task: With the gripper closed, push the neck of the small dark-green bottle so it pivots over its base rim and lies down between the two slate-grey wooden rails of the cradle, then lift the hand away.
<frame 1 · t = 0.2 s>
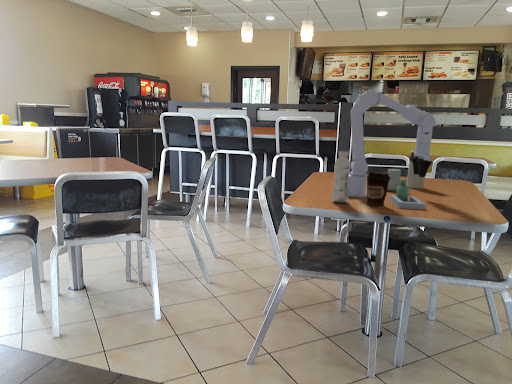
hand: (419, 175, 168), 10 cm above the table, tool pointing down, fingers open, 7 cm apart
cradle: (405, 204, 156), on the table
coffee cup: (375, 206, 152), on the table
plastic bottle: (339, 202, 156), on the table
bottle: (401, 200, 163), on the table, tilted 7°, touching cradle
travel mug: (414, 188, 199), on the table
air freshener: (392, 191, 187), on the table
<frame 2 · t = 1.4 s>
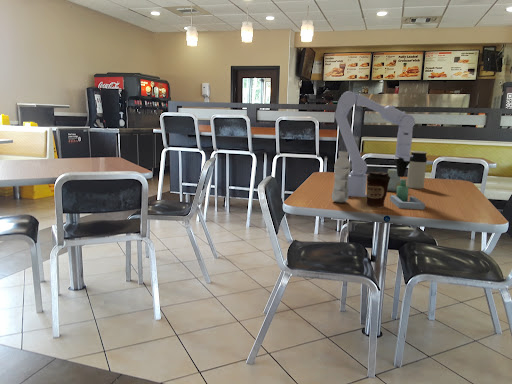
hand: (400, 176, 167), 9 cm above the table, tool pointing down, fingers closed
nothing on the table moved.
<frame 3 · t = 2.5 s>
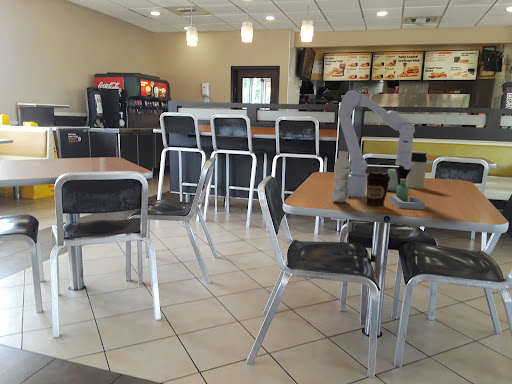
hand: (400, 184, 165), 6 cm above the table, tool pointing down, fingers closed
bottle: (401, 200, 163), on the table, tilted 7°, touching cradle, gripper
everything else where it was.
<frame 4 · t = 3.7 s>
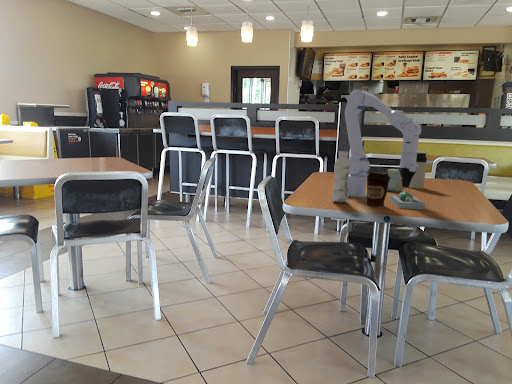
hand: (405, 187, 159), 6 cm above the table, tool pointing down, fingers closed
bottle: (403, 196, 160), point 2 cm above the table, tilted 90°, touching cradle
everything else where it was.
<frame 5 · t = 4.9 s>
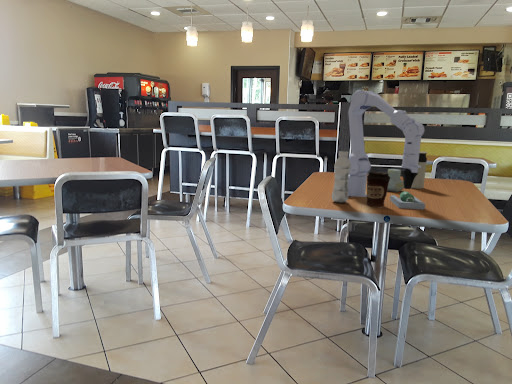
hand: (407, 188, 156), 6 cm above the table, tool pointing down, fingers closed
nothing on the table moved.
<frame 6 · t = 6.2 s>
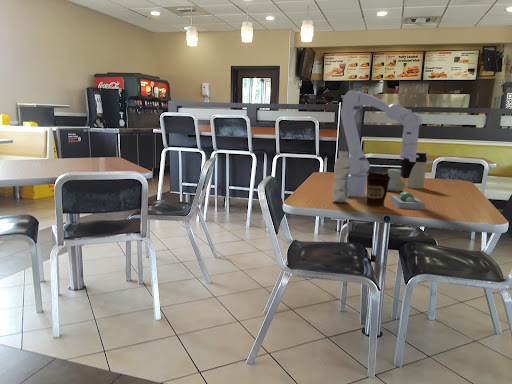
hand: (405, 178, 159), 10 cm above the table, tool pointing down, fingers closed
nothing on the table moved.
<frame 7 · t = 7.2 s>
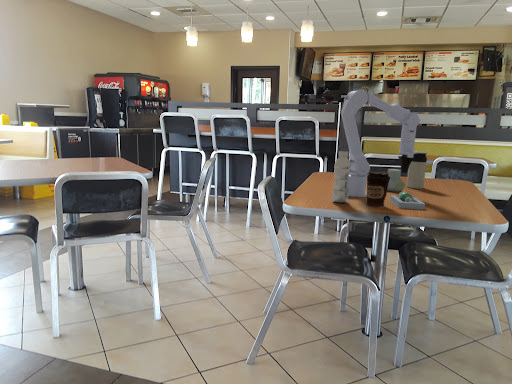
hand: (404, 172, 172), 10 cm above the table, tool pointing down, fingers closed
nothing on the table moved.
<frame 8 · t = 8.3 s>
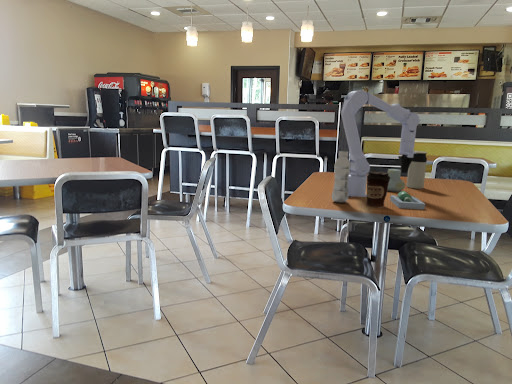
hand: (404, 172, 172), 10 cm above the table, tool pointing down, fingers closed
nothing on the table moved.
at the end: bottle tilted 90°; bottle inside the target area on the cradle (0.9 cm from its centre), point 2.5 cm above the cradle's base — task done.
